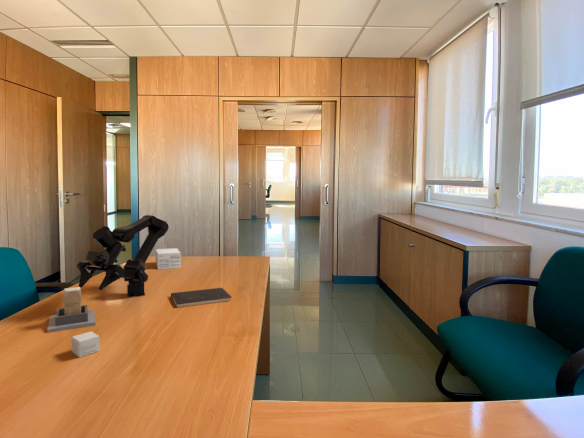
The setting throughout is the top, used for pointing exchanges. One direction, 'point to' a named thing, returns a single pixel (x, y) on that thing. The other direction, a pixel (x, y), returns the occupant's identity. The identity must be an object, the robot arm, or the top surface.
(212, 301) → the hardcover book
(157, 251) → the supplement box
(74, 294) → the box
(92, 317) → the holder
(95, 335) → the small box
